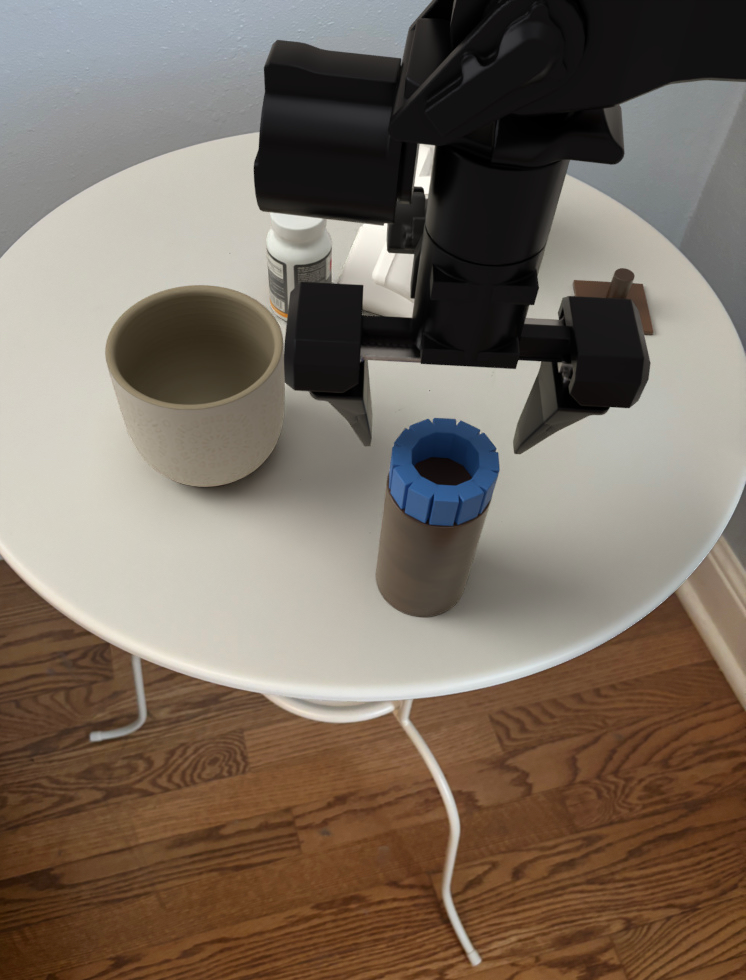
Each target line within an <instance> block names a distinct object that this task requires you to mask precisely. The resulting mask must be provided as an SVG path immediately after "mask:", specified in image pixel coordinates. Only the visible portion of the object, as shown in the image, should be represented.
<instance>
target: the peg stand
mask: <svg viewBox="0 0 746 980" xmlns="http://www.w3.org/2000/svg"><path fill="white" fill-rule="evenodd" d="M635 278H636V277H635V272H633V271H632V270H631V269H629V268H626V267H621V268H617V269H616V270H615V271H614V272H613V275H612V278H611V281H600V280H586V279H585V280H582V279H574V280H573V281H572V287H573V293H574V296H580V297H598V298H617V299H631V300H632V301H633V303H634V304H635V306H636V307H637V309H638V310H639V314H640V318H641V323H642V327H643V332H644V335H649V336H650V335H651V336H653V334H654V331H655V330H654V326H653V322H652V318H651V314H650V309H649V305H648V300H647V295H646V291H645V286H644V283H640V282H639V283H636V282H634V280H635Z"/></svg>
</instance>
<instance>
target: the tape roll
mask: <svg viewBox="0 0 746 980" xmlns="http://www.w3.org/2000/svg"><path fill="white" fill-rule="evenodd" d="M499 455H500V454H499V451H497V447H496V445H495V444H494V443H493V441H492V440H491V439H490V438H489V436H488V435H487V434H486V433H485V432H482V433H481V429H480V428H478V427H477V426H474V425H471V424H469V423H468V422H466V421H464V420H461V419H460V420H459V421H458V423H457V419H456V418H446V417H433V418H432V420H431V419H430V418H426V419H422V420H420V421H418V422H415V423H412V424H410V425H409V426H408V428H407V427H405V428H404V429H403V430H402V432H401V433H399V436H397V438H396V439H395V440H394V442H393V446H392V447H391V454H390V461H389V462H390V463H389V470H388V473H389V489H391V492H390V493H391V495H392V496H393V498H394V499H395V501H396V502H397V504H398V505H399V507H400V508H401V509H404V508H405V513H406V514H408V515H410V516H412V517H414V518H416V519H417V520H419V521H421V522H423V523H426V521H427V520H428V519H429V524H430V525H444V526H453V524H454V521H455V522H456V524H457V525H459V524H461V523H464V522H466V521H468V520H471V519H473V518H475V517H477V516H478V513H479V514H481V513H482V512H483V510H484V509H485V507H486V506H487V504H488V503H489V501H490V500H491V501H492V499H493V494H494V490H495V488H496V484H497V481H498V477H499V474H500V456H499ZM431 457H437V458H449V459H451V460H453V461H455V462H457V463H459V464H461V465H463V466H464V467H465V469H466V470H467V471H468V473H469V474H470V475H471V477H472V479H471V480H468V481H466V482H464V483H461V484H459V485H456V486H453V485H437V484H435V483H433V482H431V481H429V480H427V479H425V478H423V477H421V476H420V474H419V473H418V472H417V470H416V469H415V467H414V466H415V465H416V464H417V463H418V462H421V461H423V460H426V459H428V458H431ZM491 498H492V499H491Z"/></svg>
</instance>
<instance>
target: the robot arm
mask: <svg viewBox="0 0 746 980" xmlns="http://www.w3.org/2000/svg"><path fill="white" fill-rule="evenodd" d="M402 54H403V55H402V58H401V57H394V56H384V55H376V54H375V55H374V54H365V53H356V52H347V51H339V50H337V51H336V50H329V49H323V48H320V47H318V46H314V45H312V44H309V43H306V42H300V41H292V40H285V39H276V40H275V41H274V42H273V43H272V45H271V47H270V50H269V53H268V55H267V58H266V60H265V64H264V66H263V79H264V80H263V81H264V82H263V83H264V94H263V99H262V107H261V113H260V122H259V132H258V133H259V137H258V150H257V152H256V155H255V158H254V162H253V185H254V194H255V200H256V204H257V207H258V209H259V210H260V211H261V212H265V213H270V212H271V213H279V214H288V215H296V216H305V217H313V218H322V219H327V220H330V221H331V220H332V221H339V222H347V223H356V224H363V223H364V224H372V225H381V226H384V223H387V251H388V252H389V253H399V254H414V259H413V267H412V275H411V283H410V297H411V299H415V300H414V307H413V315H412V318H407V317H389V316H382V315H370V314H369V315H368V314H363V309H362V308H363V285H355V284H338V283H335V282H333V283H317V282H300V283H299V284H298V285H297V286H296V287H295V288H294V289H293V290H292V291H291V292H290V299H289V308H288V317H287V321H286V326H285V336H284V342H283V343H284V381H285V385H287V386H289V387H290V388H291V389H292V391H297V392H309V395H310V397H311V398H312V399H314V400H316V401H323V402H328V404H330V405H331V406H332V407H333V408H334V410H336V411H337V412H338V414H339V415H341V416H342V417H343V419H345V420H346V421H347V423H348V425H349V426H350V427H351V429H352V430H353V432H354V433H355V435H356V436H357V438H358V439H359V441H360V442H361V444H362V445H363V446H364V447H371V446H372V440H373V407H372V393H371V381H370V371H369V361H375V362H376V361H378V362H396V363H415V364H416V363H417V364H420V365H433V366H448V367H449V366H450V367H451V366H452V367H468V368H469V367H470V368H488V369H489V368H491V369H506V370H507V369H508V370H517V367H518V363H519V361H523V362H540V366H539V369H538V372H537V375H536V377H535V379H534V382H533V385H532V386H531V389H530V392H529V394H528V396H527V399H526V401H525V403H524V406H523V408H522V411H521V413H520V416H519V418H518V420H517V423H516V428H515V432H514V436H513V440H512V447H513V448H512V449H513V454H514V455H522V454H524V453H525V452H527V451H529V450H530V449H531V448H533V447H535V446H536V445H538V444H539V443H541V442H543V441H544V440H546V439H547V438H550V436H552V435H554V434H556V433H558V432H559V431H561V430H563V429H566V428H567V427H569V426H571V425H573V424H575V423H576V424H577V422H579V421H582V420H583V419H585V418H586V419H587V418H588V417H590V416H603V415H605V414H607V413H608V411H610V409H611V408H618V409H631V408H632V407H633V406H634V405H635V404H636V403H638V402H639V401H640V399H641V397H642V394H643V392H644V390H645V388H646V386H647V383H648V381H649V379H650V371H651V358H650V354H649V350H648V345H647V340H646V336H645V334H644V332H643V327H642V323H641V318H640V314H639V310H638V309H637V307H636V306H635V304H634V303H633V301H632V300H631V299H617V298H598V297H580V296H575V295H566V296H564V297H562V298H561V301H560V305H559V307H558V311H557V317H558V319H552V318H533V317H527V315H528V312H529V308H530V306H535V303H536V300H537V297H538V293H539V289H540V285H539V284H540V283H539V277H538V276H539V272H540V269H541V265H542V261H543V258H544V254H545V251H546V247H547V245H548V240H549V237H550V233H551V230H552V226H553V222H554V219H555V216H556V212H557V208H558V204H559V200H560V197H561V194H562V191H563V190H562V189H563V186H564V183H565V179H566V176H567V173H568V169H569V165H570V162H571V161H575V162H584V163H591V164H592V163H593V164H601V165H610V166H612V165H618V164H619V163H621V162H622V161H623V159H625V155H626V153H625V139H624V125H623V112H622V110H623V109H622V107H621V105H622V104H626V103H628V102H629V101H632V100H635V99H638V98H639V97H642V96H645V95H647V94H649V93H651V92H655V91H657V90H659V89H661V88H664V87H667V86H670V85H676V84H677V85H678V84H685V83H692V82H702V81H703V82H704V81H715V82H732V83H734V82H735V83H746V0H431V1H430V3H429V4H428V5H427V6H426V7H425V8H424V9H423V10H422V12H421V13H420V14H419V15H418V16H417V17H416V18H415V20H414V21H413V22H411V24H410V26H409V27H408V30H407V35H406V40H405V45H404V49H403V53H402ZM420 144H426V145H435V148H434V156H433V163H432V171H431V178H430V186H429V194H428V199H426V198H425V194H424V188H423V187H417V186H414V183H415V176H416V169H417V161H418V154H419V146H420Z"/></svg>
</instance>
